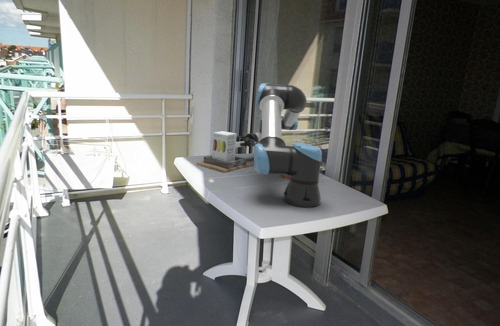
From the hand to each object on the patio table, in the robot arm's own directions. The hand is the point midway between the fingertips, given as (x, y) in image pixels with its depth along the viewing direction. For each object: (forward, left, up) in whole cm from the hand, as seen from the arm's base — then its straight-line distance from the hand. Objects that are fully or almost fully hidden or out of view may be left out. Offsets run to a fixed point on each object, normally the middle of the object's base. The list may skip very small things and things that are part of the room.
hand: (226, 142), depth 186 cm
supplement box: (-2, 0, -11) cm, 12 cm away
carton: (+11, -39, -13) cm, 43 cm away
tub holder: (-1, 0, -12) cm, 12 cm away
